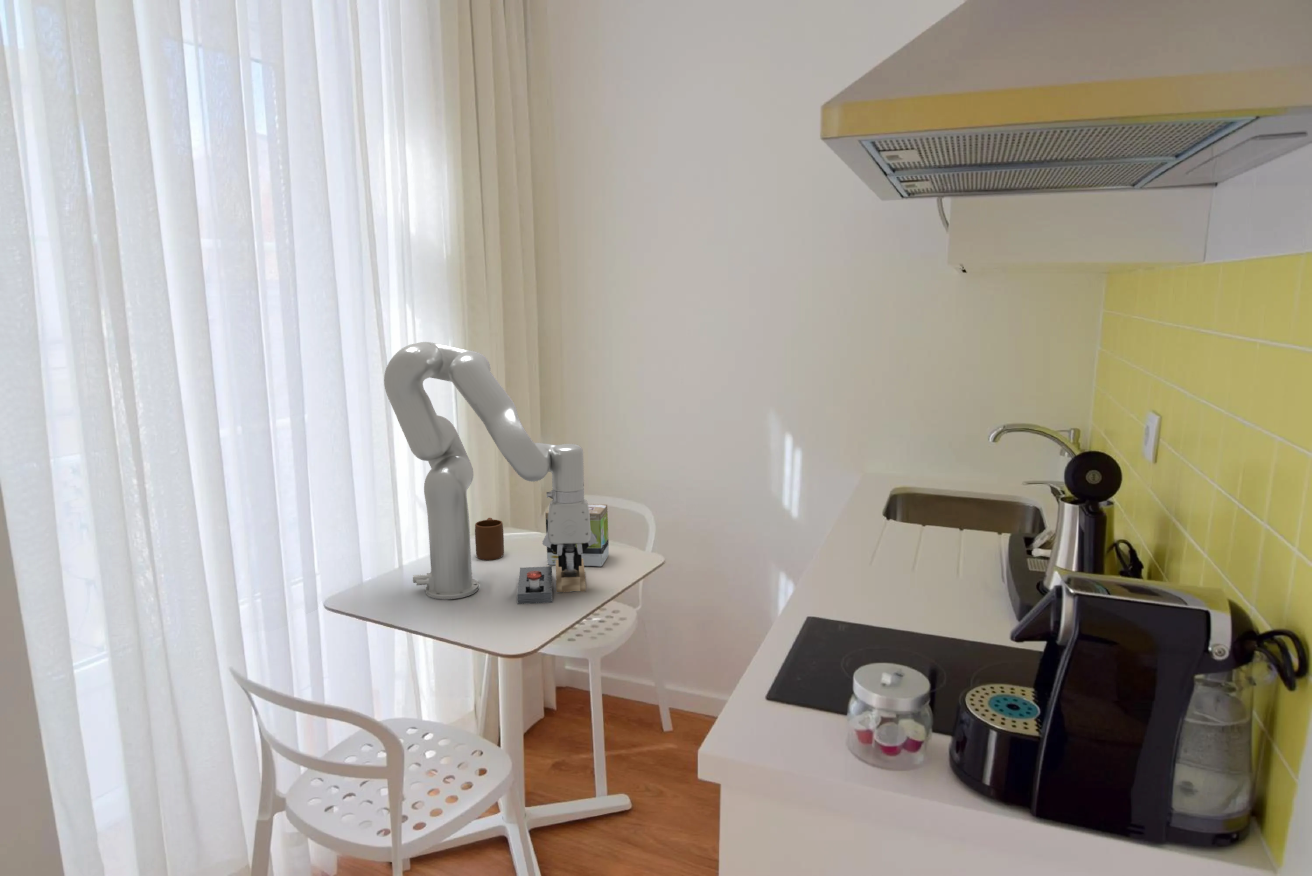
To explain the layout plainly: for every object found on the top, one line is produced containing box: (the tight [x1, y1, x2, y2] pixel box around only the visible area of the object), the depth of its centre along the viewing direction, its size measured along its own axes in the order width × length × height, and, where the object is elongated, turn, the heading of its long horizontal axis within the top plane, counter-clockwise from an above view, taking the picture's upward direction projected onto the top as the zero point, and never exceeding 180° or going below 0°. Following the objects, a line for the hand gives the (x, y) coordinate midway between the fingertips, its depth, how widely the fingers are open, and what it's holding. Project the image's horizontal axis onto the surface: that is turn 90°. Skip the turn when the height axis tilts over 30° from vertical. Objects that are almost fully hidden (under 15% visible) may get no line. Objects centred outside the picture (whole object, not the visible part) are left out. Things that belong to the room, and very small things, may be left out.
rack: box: [555, 559, 587, 593], centre depth 195 cm, size 7×14×11 cm, turn 7°
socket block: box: [516, 565, 553, 605], centre depth 191 cm, size 8×18×2 cm, turn 7°
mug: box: [474, 517, 505, 561], centre depth 217 cm, size 12×8×9 cm, turn 10°
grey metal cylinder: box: [563, 544, 577, 577], centre depth 191 cm, size 3×3×11 cm
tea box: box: [544, 503, 609, 567], centre depth 211 cm, size 15×10×15 cm
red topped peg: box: [527, 571, 542, 593], centre depth 184 cm, size 3×3×5 cm
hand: (570, 568), depth 191 cm, fingers closed on grey metal cylinder, 2 cm apart
